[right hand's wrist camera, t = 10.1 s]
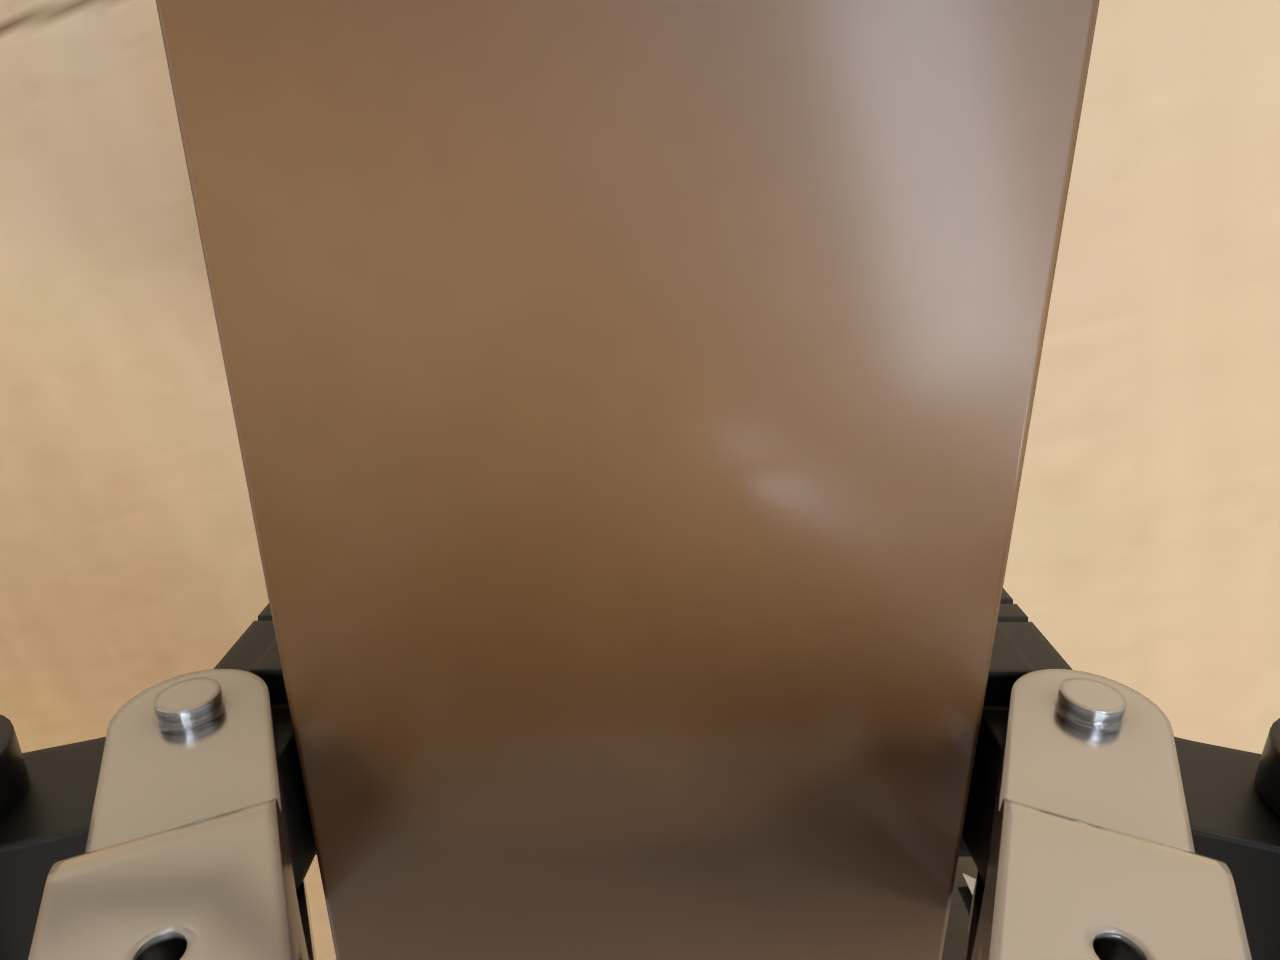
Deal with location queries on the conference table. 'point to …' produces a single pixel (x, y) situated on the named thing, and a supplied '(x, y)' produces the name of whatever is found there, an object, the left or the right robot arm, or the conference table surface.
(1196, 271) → the conference table surface
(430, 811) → the box
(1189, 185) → the conference table surface
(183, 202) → the conference table surface
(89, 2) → the conference table surface
